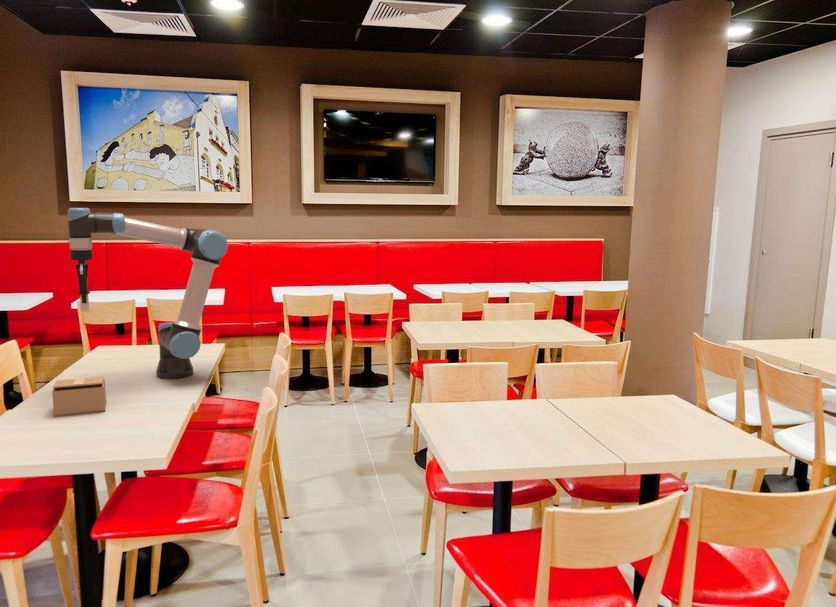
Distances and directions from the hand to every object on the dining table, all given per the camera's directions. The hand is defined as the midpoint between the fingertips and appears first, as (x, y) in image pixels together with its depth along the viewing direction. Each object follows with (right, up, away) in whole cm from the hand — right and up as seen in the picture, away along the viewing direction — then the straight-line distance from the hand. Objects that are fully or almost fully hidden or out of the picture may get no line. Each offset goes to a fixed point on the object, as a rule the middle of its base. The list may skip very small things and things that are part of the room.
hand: (85, 311), depth 253 cm
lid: (+6, -25, -16) cm, 30 cm away
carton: (+6, -35, -14) cm, 38 cm away
